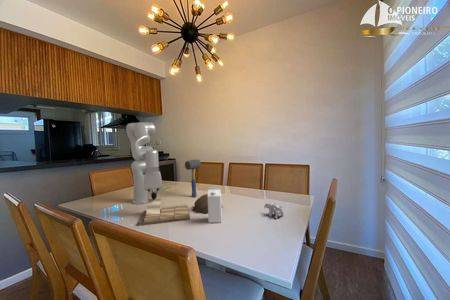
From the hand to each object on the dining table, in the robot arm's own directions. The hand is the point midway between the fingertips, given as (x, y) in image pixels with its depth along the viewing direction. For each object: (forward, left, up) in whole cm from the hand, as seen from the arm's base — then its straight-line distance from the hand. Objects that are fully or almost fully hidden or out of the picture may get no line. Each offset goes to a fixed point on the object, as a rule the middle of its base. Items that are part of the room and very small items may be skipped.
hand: (154, 199), depth 129 cm
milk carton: (+20, +35, -10) cm, 41 cm away
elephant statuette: (+23, +69, -10) cm, 73 cm away
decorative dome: (-1, +34, -10) cm, 35 cm away
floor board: (+5, +7, -10) cm, 13 cm away
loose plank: (+2, 0, -5) cm, 5 cm away
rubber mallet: (-32, +27, -10) cm, 43 cm away
